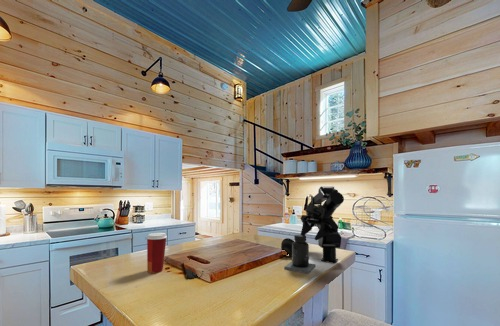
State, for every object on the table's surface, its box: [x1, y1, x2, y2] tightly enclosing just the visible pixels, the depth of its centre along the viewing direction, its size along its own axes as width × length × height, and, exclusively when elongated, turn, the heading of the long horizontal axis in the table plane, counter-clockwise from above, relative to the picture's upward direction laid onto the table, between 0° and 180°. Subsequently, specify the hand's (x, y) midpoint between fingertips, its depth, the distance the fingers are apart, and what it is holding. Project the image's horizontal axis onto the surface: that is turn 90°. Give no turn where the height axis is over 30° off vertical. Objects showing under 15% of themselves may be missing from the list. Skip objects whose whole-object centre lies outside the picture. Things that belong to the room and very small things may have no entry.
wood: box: [184, 258, 201, 280], centre depth 98 cm, size 22×7×3 cm, turn 19°
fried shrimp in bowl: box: [280, 237, 295, 257], centre depth 123 cm, size 9×11×18 cm
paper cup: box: [145, 232, 168, 274], centre depth 96 cm, size 8×8×14 cm
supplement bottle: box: [291, 234, 310, 267], centre depth 102 cm, size 7×7×12 cm
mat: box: [283, 261, 317, 275], centre depth 101 cm, size 10×10×1 cm
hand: (308, 237), depth 105 cm, fingers open, 9 cm apart
